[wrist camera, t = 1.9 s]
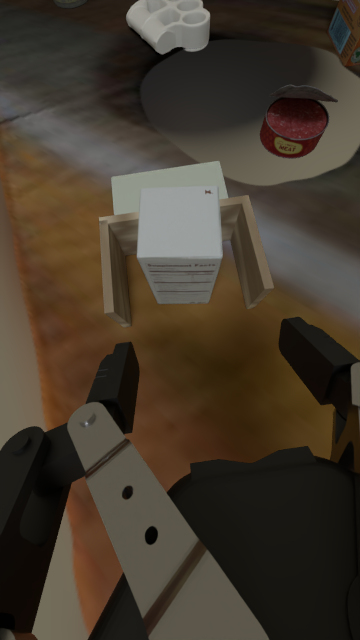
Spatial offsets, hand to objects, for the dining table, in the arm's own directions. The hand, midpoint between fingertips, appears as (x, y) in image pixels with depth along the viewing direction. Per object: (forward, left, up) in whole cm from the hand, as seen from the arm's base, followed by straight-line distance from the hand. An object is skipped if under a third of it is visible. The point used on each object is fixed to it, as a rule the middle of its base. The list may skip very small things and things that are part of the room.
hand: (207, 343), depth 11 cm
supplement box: (0, -11, -17) cm, 20 cm away
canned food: (-22, -35, -17) cm, 45 cm away
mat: (0, -25, -16) cm, 30 cm away
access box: (0, -11, -16) cm, 20 cm away
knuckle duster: (-6, -69, -17) cm, 72 cm away
